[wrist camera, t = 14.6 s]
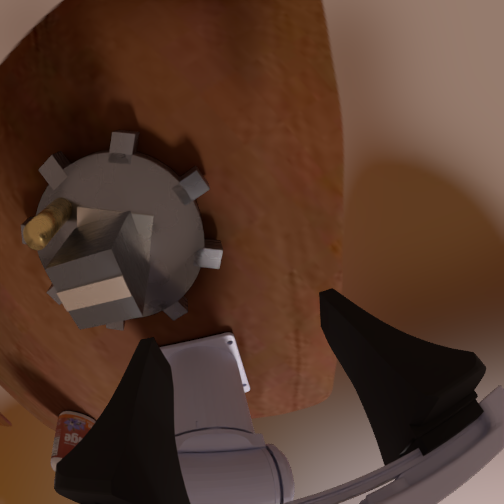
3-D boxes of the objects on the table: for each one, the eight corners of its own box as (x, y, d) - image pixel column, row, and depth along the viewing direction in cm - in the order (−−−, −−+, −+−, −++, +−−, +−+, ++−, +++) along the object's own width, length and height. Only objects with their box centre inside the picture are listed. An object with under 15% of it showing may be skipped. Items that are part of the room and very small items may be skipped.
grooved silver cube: (150, 266, 18) (142, 317, 14) (98, 279, 18) (79, 330, 13) (130, 210, 16) (110, 249, 12) (75, 228, 16) (44, 270, 11)
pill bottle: (108, 423, 29) (105, 497, 20) (91, 435, 31) (87, 500, 21) (66, 403, 26) (54, 480, 17) (54, 417, 28) (43, 485, 18)
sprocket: (241, 148, 17) (262, 164, 13) (203, 325, 24) (209, 377, 19) (32, 126, 13) (-15, 138, 9) (41, 304, 19) (19, 349, 15)
